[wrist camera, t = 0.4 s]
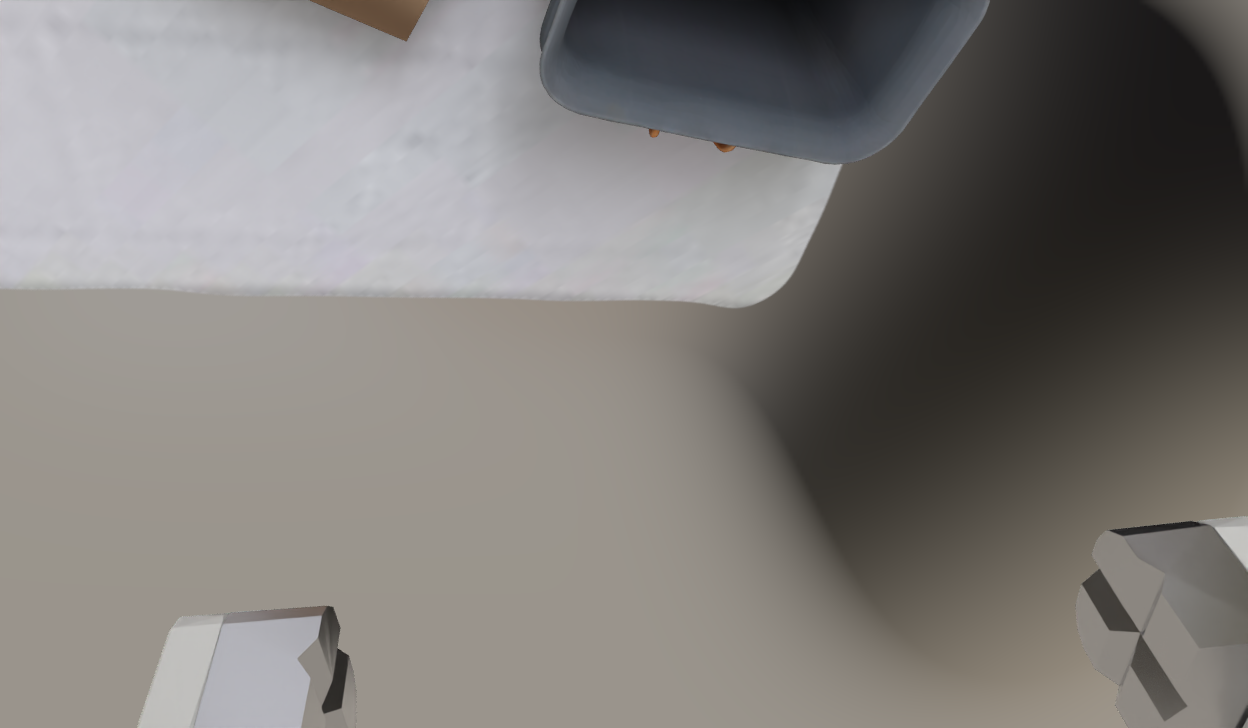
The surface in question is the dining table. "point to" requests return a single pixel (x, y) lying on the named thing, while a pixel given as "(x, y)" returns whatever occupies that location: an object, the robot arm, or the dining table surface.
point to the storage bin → (756, 68)
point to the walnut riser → (381, 13)
